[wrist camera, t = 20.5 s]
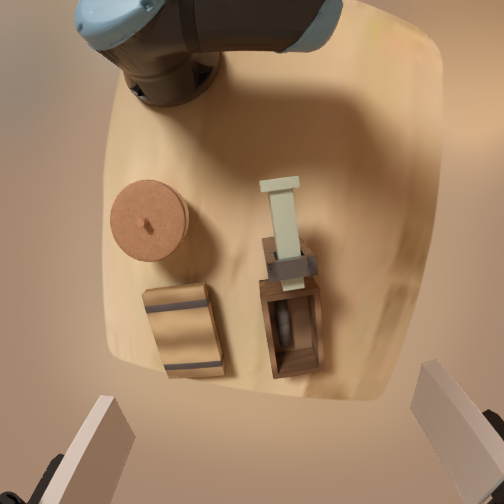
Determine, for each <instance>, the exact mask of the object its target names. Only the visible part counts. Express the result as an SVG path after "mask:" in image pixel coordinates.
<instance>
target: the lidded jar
mask: <svg viewBox="0 0 504 504" xmlns="http://www.w3.org/2000/svg"><path fill="white" fill-rule="evenodd" d="M110 225H111V230H112V234H113V237H114V239H115V241H116V243H117V244H118V246H119V247H120V248H121V249H122V250H123V251H124V252H125V253H126V254H127V255H129V256H130V257H132V258H134V259H137V260H139V261H145V262H153V261H158V260H161V259H163V258H165V257H167V256H169V255H170V254H171V253H172V252H174V250H175V249H176V248H177V247H178V246H179V244H180V243H181V242H182V240H183V239H184V237H185V235H186V233H187V230H188V226H189V211H188V207H187V204H186V202H185V200H184V198H183V197H182V195H181V194H180V193H179V192H178V191H177V190H176V189H174V188H173V187H172V186H170V185H168V184H165V183H162V182H158V181H154V180H141V181H137V182H134V183H132V184H130V185H128V186H127V187H125V188H124V189H123V190H122V191H121V192H120V193H119V195H118V196H117V197H116V199H115V201H114V203H113V206H112V209H111V215H110Z"/></svg>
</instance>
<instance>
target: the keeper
mask: <svg viewBox="0 0 504 504" xmlns="http://www.w3.org/2000/svg"><path fill="white" fill-rule="evenodd" d="M262 242H263V249H264V255H265V260H266V266H267V272H268V277H269V282H273V281H280V280H286V279H293V278H299V277H305V276H311V275H317V274H318V269H317V259H316V255H315V254H314V253H313V252H312V251H311V250H310V248H309V247H308V246H307V245H306V244H305V243H304V242H303V241H302V239H301V238H300V237H299V244H300V252H301V256H298V257H291V258H285V259H278V258H277V251H276V244H275V237H268V238H262Z"/></svg>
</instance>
